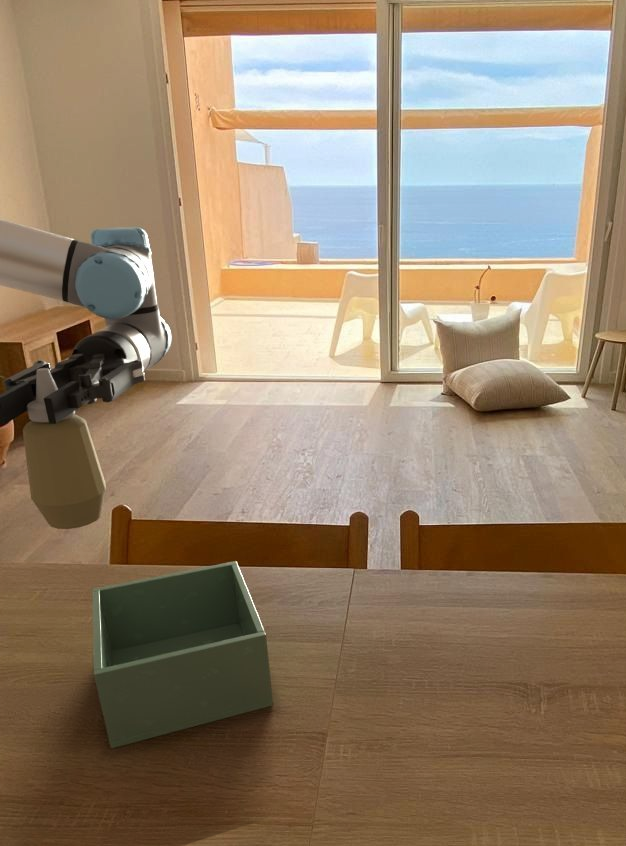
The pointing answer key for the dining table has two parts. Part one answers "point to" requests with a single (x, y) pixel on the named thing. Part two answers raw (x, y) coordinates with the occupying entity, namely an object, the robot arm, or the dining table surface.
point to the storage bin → (178, 652)
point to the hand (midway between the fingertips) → (24, 411)
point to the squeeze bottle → (62, 464)
